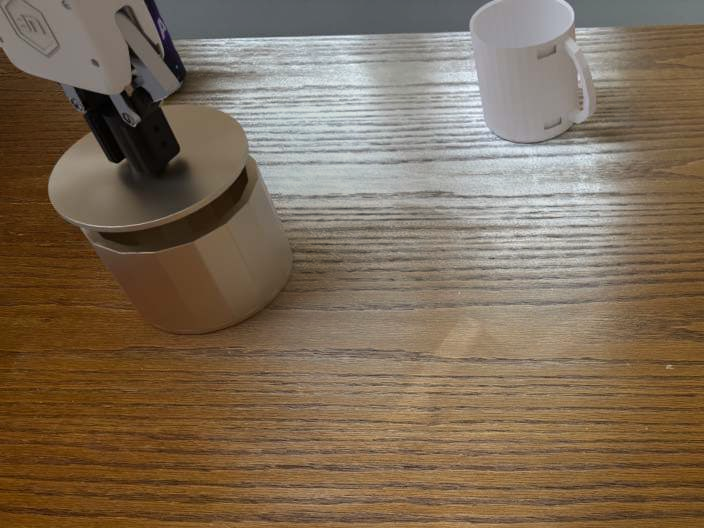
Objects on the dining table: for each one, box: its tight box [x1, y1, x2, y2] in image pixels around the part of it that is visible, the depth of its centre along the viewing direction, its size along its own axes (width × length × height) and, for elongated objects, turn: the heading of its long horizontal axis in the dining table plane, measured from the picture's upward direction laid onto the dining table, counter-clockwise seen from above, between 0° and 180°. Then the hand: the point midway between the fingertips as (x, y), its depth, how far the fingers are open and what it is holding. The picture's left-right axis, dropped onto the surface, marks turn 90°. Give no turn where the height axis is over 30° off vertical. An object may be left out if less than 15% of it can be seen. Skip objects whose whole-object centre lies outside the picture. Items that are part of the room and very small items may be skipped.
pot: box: [79, 153, 294, 336], centre depth 66 cm, size 13×13×8 cm
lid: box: [47, 95, 250, 232], centre depth 59 cm, size 14×14×6 cm
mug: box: [468, 0, 597, 144], centre depth 75 cm, size 12×9×9 cm
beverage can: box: [129, 0, 187, 95], centre depth 84 cm, size 6×6×12 cm
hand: (145, 155), depth 60 cm, fingers closed on lid, 2 cm apart
